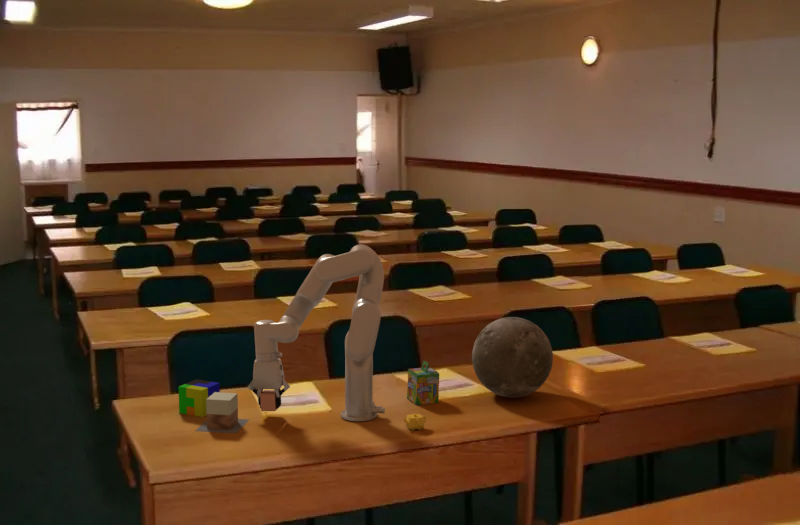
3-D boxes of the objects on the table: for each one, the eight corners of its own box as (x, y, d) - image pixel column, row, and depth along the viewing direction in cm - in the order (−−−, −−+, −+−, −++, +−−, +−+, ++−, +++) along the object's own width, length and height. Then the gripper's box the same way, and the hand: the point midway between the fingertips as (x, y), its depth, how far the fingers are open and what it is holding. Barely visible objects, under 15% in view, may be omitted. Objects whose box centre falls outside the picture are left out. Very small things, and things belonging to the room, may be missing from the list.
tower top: (237, 407, 299) (237, 393, 298) (229, 415, 291) (229, 400, 290) (215, 406, 300) (214, 392, 299) (206, 413, 292) (206, 399, 291)
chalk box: (406, 398, 328) (407, 360, 326) (429, 396, 331) (429, 357, 329) (416, 406, 320) (416, 366, 317) (439, 403, 323) (440, 364, 321)
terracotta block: (279, 406, 307) (278, 390, 306) (275, 411, 302) (274, 394, 301) (265, 406, 308) (264, 389, 307) (261, 411, 303) (260, 394, 302)
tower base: (238, 421, 299) (237, 407, 299) (230, 429, 292) (229, 415, 291) (215, 420, 301) (215, 406, 300) (207, 428, 293) (206, 413, 292)
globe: (568, 399, 329) (571, 320, 324) (507, 413, 312) (509, 330, 307) (514, 380, 353) (516, 306, 349) (455, 392, 337) (456, 315, 332)
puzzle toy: (220, 410, 313) (219, 382, 312) (202, 418, 304) (201, 390, 303) (197, 406, 317) (196, 379, 316) (179, 414, 308) (178, 386, 307)
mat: (249, 420, 302) (249, 419, 302) (236, 434, 288) (235, 433, 288) (210, 418, 304) (210, 417, 304) (195, 432, 290) (195, 430, 290)
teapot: (406, 433, 291) (406, 418, 290) (400, 427, 296) (401, 413, 296) (429, 431, 293) (429, 416, 293) (423, 425, 299) (423, 410, 298)
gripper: (294, 353, 304) (296, 404, 307) (246, 353, 307) (249, 403, 310) (288, 359, 297) (291, 411, 300) (239, 359, 300) (242, 410, 302)
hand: (270, 406), depth 305 cm, fingers closed on terracotta block, 5 cm apart
